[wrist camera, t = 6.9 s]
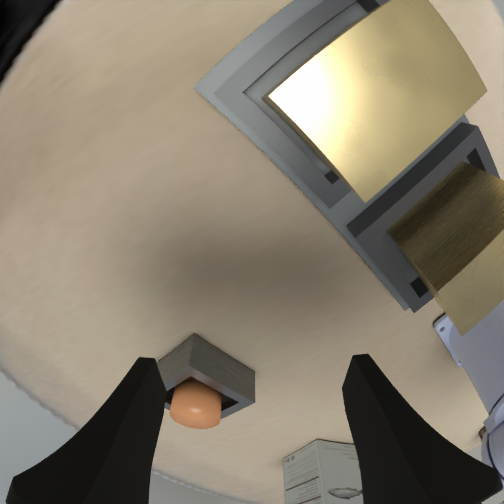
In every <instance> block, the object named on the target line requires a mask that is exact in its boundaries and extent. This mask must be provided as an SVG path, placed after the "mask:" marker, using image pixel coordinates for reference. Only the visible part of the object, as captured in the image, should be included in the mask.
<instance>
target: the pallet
mask: <svg viewBox="0 0 504 504" xmlns="http://www.w3.org/2000/svg"><path fill="white" fill-rule="evenodd" d="M387 1H388V0H294V1H293V2H291V3H290V4H288V5H287V6H286V7H284V8H283V9H282V10H280V11H279V12H278V13H277V14H275V15H274V16H273V17H271V18H270V19H269V20H268V21H266V22H265V23H264V24H263V25H261V26H260V27H259V28H258V29H257V30H255V31H254V32H253V33H252V34H251V35H249V36H248V37H247V38H246V39H245V40H244V41H242V42H241V43H240V44H239V45H238V46H237V47H236V48H235V49H233V50H232V51H231V52H230V53H229V54H228V55H227V56H226V57H225V58H224V59H223V60H221V61H220V62H219V63H218V64H217V65H216V66H215V67H214V68H213V69H212V70H211V71H210V72H209V73H208V74H207V75H206V76H205V77H204V78H203V79H202V80H201V81H200V82H199V83H198V84H197V85H196V86H195V87H194V89H195V90H197V91H198V92H199V93H200V94H201V95H202V96H203V97H205V98H206V99H207V100H208V101H209V102H210V103H211V104H212V105H214V106H215V107H216V108H217V109H218V110H219V111H220V112H221V113H222V114H224V115H225V116H226V117H227V118H228V119H229V120H230V121H231V122H232V123H233V124H234V125H235V126H237V127H238V128H239V129H240V130H241V131H242V132H243V133H244V134H245V135H246V136H247V137H248V138H249V139H250V140H251V141H252V142H253V143H254V144H255V145H257V146H258V147H259V148H260V149H261V150H262V151H263V152H264V153H265V154H266V155H267V156H268V157H269V158H270V159H271V160H272V161H273V162H274V163H275V164H276V165H277V166H278V167H279V168H280V169H281V170H282V171H283V172H284V173H285V174H286V175H287V176H288V177H289V178H290V179H291V180H292V181H293V183H294V184H295V185H296V186H297V187H298V188H299V189H300V190H301V191H302V192H303V193H304V194H305V195H306V196H307V197H308V198H309V199H310V200H311V201H312V202H313V204H314V205H315V206H316V207H317V208H318V209H319V210H320V211H321V212H322V213H323V214H324V215H325V217H326V218H327V219H328V220H329V221H330V222H331V223H332V224H333V225H334V227H335V228H336V229H337V230H338V231H339V232H340V233H341V234H342V236H343V237H344V238H345V239H346V240H347V241H348V242H349V244H350V245H351V246H352V247H353V248H354V249H355V250H356V252H357V253H358V254H359V255H360V256H361V257H362V259H363V260H364V261H365V262H366V263H367V265H368V266H369V267H370V268H371V269H372V271H373V272H374V273H375V274H376V275H377V277H378V278H379V279H380V280H381V281H382V283H383V284H384V285H385V286H386V288H387V289H388V290H389V291H390V293H391V294H392V295H393V296H394V298H395V299H396V300H397V301H398V303H399V304H400V305H401V307H402V308H403V309H404V310H405V311H406V310H407V309H408V308H411V310H412V311H413V312H414V313H415V312H416V311H417V310H419V309H420V308H421V307H423V306H424V305H425V304H426V303H428V302H429V301H430V300H431V299H432V298H434V296H433V295H432V294H431V292H430V291H429V290H428V288H427V287H426V286H425V284H424V283H423V282H422V280H421V279H420V278H419V277H418V275H417V274H416V273H415V271H414V270H413V269H412V267H411V266H410V264H409V263H408V261H407V260H406V258H405V257H404V255H403V254H402V252H401V251H400V250H399V248H398V247H397V245H396V244H395V242H394V241H393V240H392V238H391V237H390V236H389V234H388V233H387V231H386V230H387V229H388V228H389V227H390V226H392V225H393V224H394V223H395V222H396V221H397V220H399V219H400V218H401V217H402V216H403V215H404V214H405V213H406V212H408V211H409V210H410V209H411V208H412V207H413V206H414V205H415V204H417V203H418V202H419V201H420V200H421V199H422V198H423V197H424V196H425V195H426V194H428V193H429V192H430V191H431V190H432V189H433V188H434V187H435V186H436V185H437V184H438V183H439V182H440V181H442V180H443V179H444V178H445V177H446V176H447V175H448V174H449V173H450V172H451V171H452V170H453V169H454V168H455V167H456V166H457V165H458V164H459V163H460V162H461V161H464V162H466V163H468V164H470V165H472V166H475V167H477V168H479V169H481V170H483V171H485V172H487V173H489V174H492V175H494V176H496V177H498V178H499V179H500V177H499V174H498V172H497V169H496V167H495V164H494V161H493V159H492V157H491V154H490V152H489V149H488V147H487V145H486V143H485V140H484V138H483V136H482V134H481V132H480V129H479V127H478V126H475V125H471V124H469V122H468V120H467V118H466V116H465V114H463V115H462V116H461V117H460V118H459V119H458V120H457V121H456V122H455V123H454V124H453V125H452V126H451V127H450V128H448V129H447V130H446V131H445V132H444V133H443V134H442V135H441V136H440V137H439V138H438V139H437V140H436V141H435V142H433V143H432V144H431V145H430V146H429V147H428V148H427V149H426V150H425V151H424V152H423V153H421V154H420V155H419V156H418V157H417V158H416V159H415V160H414V161H413V162H412V163H410V164H409V165H408V166H407V167H406V168H405V169H404V170H403V171H401V172H400V173H399V174H398V175H397V176H396V177H395V178H394V179H393V180H391V181H390V182H389V183H388V184H387V185H386V186H385V187H383V188H382V189H381V190H380V191H379V192H378V193H377V194H375V195H374V196H373V197H372V198H371V199H370V200H369V201H367V202H366V203H364V202H363V201H362V200H361V199H360V198H359V197H358V196H357V195H356V194H355V193H354V192H353V191H352V190H351V189H350V188H349V187H348V186H347V185H346V184H345V183H344V182H343V181H342V180H341V179H340V178H339V177H338V176H337V175H336V174H335V173H334V172H333V171H332V170H330V169H329V168H328V167H327V166H326V165H325V164H324V163H323V162H322V161H321V160H320V159H319V158H318V157H317V156H316V155H315V154H314V153H313V151H312V150H311V149H310V148H309V147H308V146H307V145H306V144H305V143H304V142H303V141H302V140H301V139H300V137H299V136H298V135H297V134H296V133H295V132H294V131H293V130H292V129H291V128H290V127H289V126H288V125H287V124H286V123H285V122H284V121H283V120H282V119H281V118H280V117H279V116H278V115H277V114H276V113H275V112H274V111H273V110H272V109H271V108H270V107H269V106H268V105H267V104H266V103H265V102H264V101H263V100H262V99H261V98H262V97H263V96H264V95H265V94H266V93H267V92H268V91H269V90H270V89H272V88H273V87H274V86H275V85H276V84H277V83H278V82H279V81H281V80H282V79H283V78H284V77H285V76H286V75H288V74H289V73H290V72H291V71H292V70H293V69H295V68H296V67H297V66H298V65H299V64H300V63H302V62H303V61H304V60H305V59H307V58H308V57H309V56H310V55H311V54H313V53H314V52H315V51H316V50H318V49H319V48H320V47H321V46H323V45H324V44H325V43H327V42H328V41H329V40H330V39H332V38H333V37H334V36H336V35H337V34H338V33H340V32H341V31H342V30H344V29H345V28H346V27H348V26H349V25H350V24H352V23H353V22H355V21H356V20H358V19H359V18H361V17H362V16H364V15H366V14H367V13H369V12H370V11H372V10H374V9H375V8H377V7H378V6H380V5H382V4H383V3H385V2H387Z"/></svg>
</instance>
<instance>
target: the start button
mask: <svg viewBox="0 0 504 504" xmlns="http://www.w3.org/2000/svg"><path fill="white" fill-rule="evenodd" d="M221 403H222V393H221V392H219V391H217V390H215V389H213V388H211V387H210V386H208V385H206V384H204V383H202V382H201V381H199V380H197V379H195V378H194V377H192V376H190V377H188V378H187V379H185V380H184V381H182V382H181V383H179V384H177V385H176V386H175V388H174V393H173V398H172V403H171V408H170V416H171V418H172V419H173V420H174V421H176V422H177V423H179V424H181V425H184V426H187V427H190V428H197V429H207V428H212V427H215V426H216V425H218V424H219V423H220V418H221Z"/></svg>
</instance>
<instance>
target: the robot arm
mask: <svg viewBox="0 0 504 504" xmlns="http://www.w3.org/2000/svg"><path fill="white" fill-rule="evenodd" d="M434 328H435V330H436V331H437V333H438V334H439V336H440V337H441V339H442V341H443V342H444V344H445V345H446V347H447V348H448V350H449V352H450V353H451V355H452V357H453V358H454V360H455V362H456V363H457V365H458V367H462V366H463V367H464V369H465V371H466V372H467V374H468V376H469V378H470V380H471V381H472V383H473V385H474V387H475V389H476V391H477V393H478V395H479V396H480V398H481V400H482V402H483V404H484V406H485V408H486V410H487V412H488V414H489V417H488V418H487V419H486V420H485V421H484V422H483V423H484V425H485V428H486V430H487V431H486V432H485V434H484V436H483V439H482V445H481V449H482V450H481V456H482V462H483V463H482V462H480V461H478V460H476V459H475V458H473V457H471V456H470V455H468V454H466V453H465V452H463V451H462V450H460V449H459V448H458V447H456V446H455V445H453V444H452V443H451V442H449V441H448V440H446V439H445V438H444V437H443V436H442V435H440V434H439V433H438V432H437V431H436V430H435V429H433V428H432V427H431V426H430V425H429V424H428V423H427V422H426V421H425V420H424V419H423V418H422V417H421V416H420V415H419V414H418V413H417V412H416V411H415V410H414V409H413V408H412V407H411V406H410V405H409V404H408V402H407V401H406V400H405V399H404V398H403V397H402V396H401V394H400V393H399V392H398V391H397V390H396V388H395V387H394V386H393V385H392V384H391V382H390V381H389V380H388V379H387V377H386V376H385V375H384V373H383V372H382V371H381V370H380V368H379V367H378V366H377V364H376V363H375V362H374V360H373V359H372V358H371V357H370V355H369V354H361V355H353V356H352V359H351V362H350V365H349V369H348V372H347V375H346V378H345V381H344V383H343V386H342V391H343V399H344V405H345V411H346V415H347V419H348V423H349V426H350V430H351V434H352V438H353V441H354V445H355V449H356V453H357V456H358V461H359V466H360V473H361V482H362V492H363V504H481V502H483V501H485V500H486V499H488V498H489V497H491V496H493V495H495V494H496V493H498V492H499V491H501V490H502V489H504V300H503V301H502V302H501V303H500V304H499V305H498V306H497V307H495V308H494V309H493V310H492V311H491V312H490V313H489V314H488V315H487V316H486V317H485V318H483V319H482V320H481V321H480V322H479V323H478V324H477V325H475V326H474V327H473V328H472V329H471V330H470V331H468V332H467V333H466V334H465V335H464V336H462V337H461V335H460V334H459V332H458V331H457V329H456V328H455V326H454V325H453V323H452V322H451V320H450V319H449V317H448V316H447V315H446V314H445V315H444V316H442V317H441V318H440V319H439V320H437V321H436V322H435V324H434ZM165 398H166V388H165V385H164V383H163V380H162V377H161V375H160V372H159V369H158V366H157V363H156V361H155V358H144V357H139V358H138V359H137V360H136V362H135V363H134V365H133V366H132V367H131V369H130V370H129V372H128V373H127V374H126V376H125V377H124V378H123V380H122V381H121V382H120V384H119V385H118V386H117V388H116V389H115V390H114V392H113V393H112V394H111V395H110V397H109V398H108V399H107V401H106V402H105V403H104V404H103V405H102V406H101V408H100V409H99V410H98V411H97V412H96V413H95V415H94V416H93V417H92V418H91V419H90V420H89V421H88V422H87V423H86V424H85V425H84V426H83V427H82V428H81V429H80V430H79V431H78V432H77V433H76V434H75V435H74V436H73V437H72V438H71V439H70V440H69V441H67V442H66V443H65V444H64V445H63V446H62V447H60V448H59V449H58V450H57V451H55V452H54V453H53V454H51V455H50V456H48V457H47V458H45V459H44V460H42V461H41V462H40V463H38V464H37V465H35V466H33V467H31V468H30V469H28V470H26V471H24V472H22V473H21V474H19V475H17V476H15V477H13V480H12V482H11V485H10V488H9V492H8V495H7V498H6V504H148V503H149V485H150V475H151V467H152V461H153V457H154V452H155V448H156V444H157V440H158V435H159V431H160V427H161V423H162V419H163V414H164V407H165ZM499 504H504V501H503V502H501V503H499Z"/></svg>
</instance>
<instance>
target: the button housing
mask: <svg viewBox="0 0 504 504" xmlns="http://www.w3.org/2000/svg"><path fill="white" fill-rule="evenodd" d="M157 366H158V369H159V372H160V375H161V377H162V380H163V383H164V385H165V388H166V398H165V407H164V408H166V409H168V410H170V408H171V403H172V398H173V393H174V388H175V386H176V385H177V384H179V383H181V382H182V381H184V380H185V379H187V378H188V377H190V376H192V377H194V378H195V379H197V380H199V381H201V382H202V383H204V384H206V385H208V386H210V387H211V388H213V389H215V390H217V391H219V392H221V393H222V403H221V418H220V419H222V418H224V417H227V416H229V415H231V414H233V413H235V412H237V411H239V410H241V409H243V408H245V407H247V406H249V405H251V404H253V403H255V372H254V371H253V370H251V369H249V368H248V367H246V366H244V365H243V364H241V363H240V362H238V361H236V360H235V359H233V358H232V357H230V356H228V355H227V354H225V353H224V352H222V351H221V350H219V349H218V348H216V347H214V346H213V345H211V344H210V343H208V342H207V341H205V340H204V339H202V338H201V337H199V336H198V335H196V334H195V333H194V334H193V335H192V336H191V337H189V338H188V339H187V340H185V341H184V342H183V343H182V344H180V345H179V346H178V347H176V348H175V349H174V350H173V351H171V352H170V353H169V354H167V355H166V356H165V357H164V358H162V359H161V360H160V361H158V362H157Z"/></svg>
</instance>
